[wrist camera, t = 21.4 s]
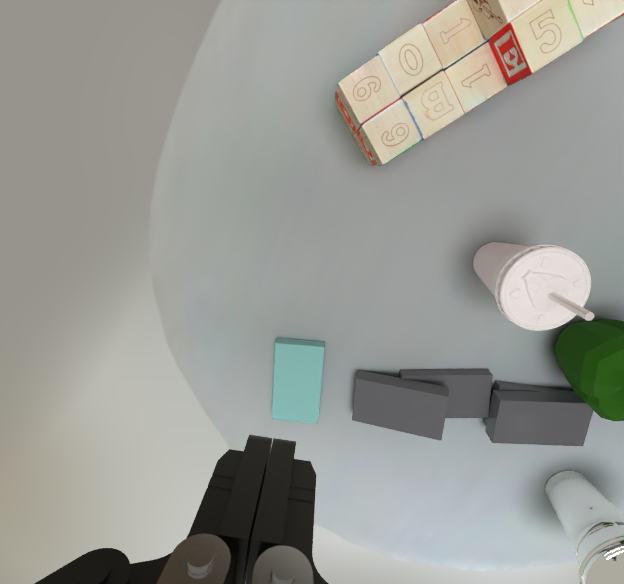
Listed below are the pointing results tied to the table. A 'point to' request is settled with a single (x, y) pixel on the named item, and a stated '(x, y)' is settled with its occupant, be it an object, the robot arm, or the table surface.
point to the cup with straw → (589, 527)
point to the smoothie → (535, 283)
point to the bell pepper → (595, 364)
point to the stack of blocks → (458, 66)
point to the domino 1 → (297, 380)
